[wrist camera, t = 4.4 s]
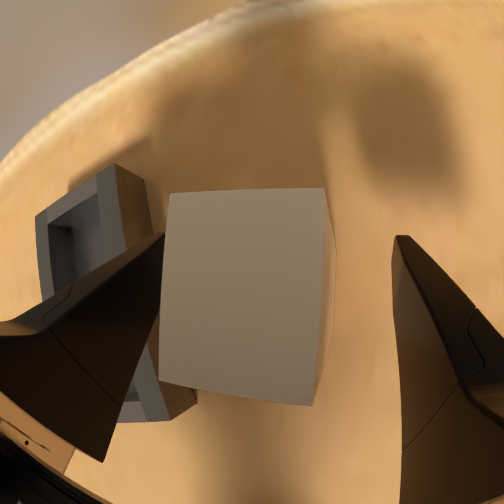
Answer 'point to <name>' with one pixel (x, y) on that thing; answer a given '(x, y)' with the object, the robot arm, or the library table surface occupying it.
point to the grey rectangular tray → (96, 254)
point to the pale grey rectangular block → (248, 292)
